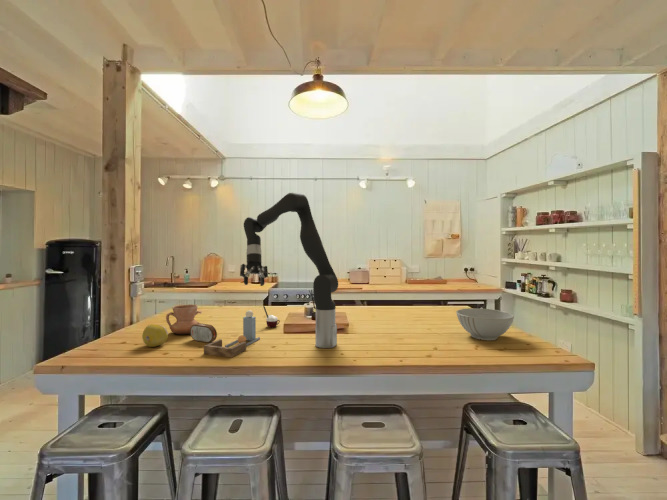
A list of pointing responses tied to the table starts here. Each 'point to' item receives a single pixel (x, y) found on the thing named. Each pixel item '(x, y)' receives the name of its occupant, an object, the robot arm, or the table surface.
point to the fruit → (154, 335)
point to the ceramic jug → (183, 318)
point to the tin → (203, 332)
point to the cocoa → (271, 320)
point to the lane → (246, 343)
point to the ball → (241, 339)
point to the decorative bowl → (485, 322)
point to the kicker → (249, 326)
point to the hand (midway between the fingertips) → (254, 285)
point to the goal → (223, 349)
